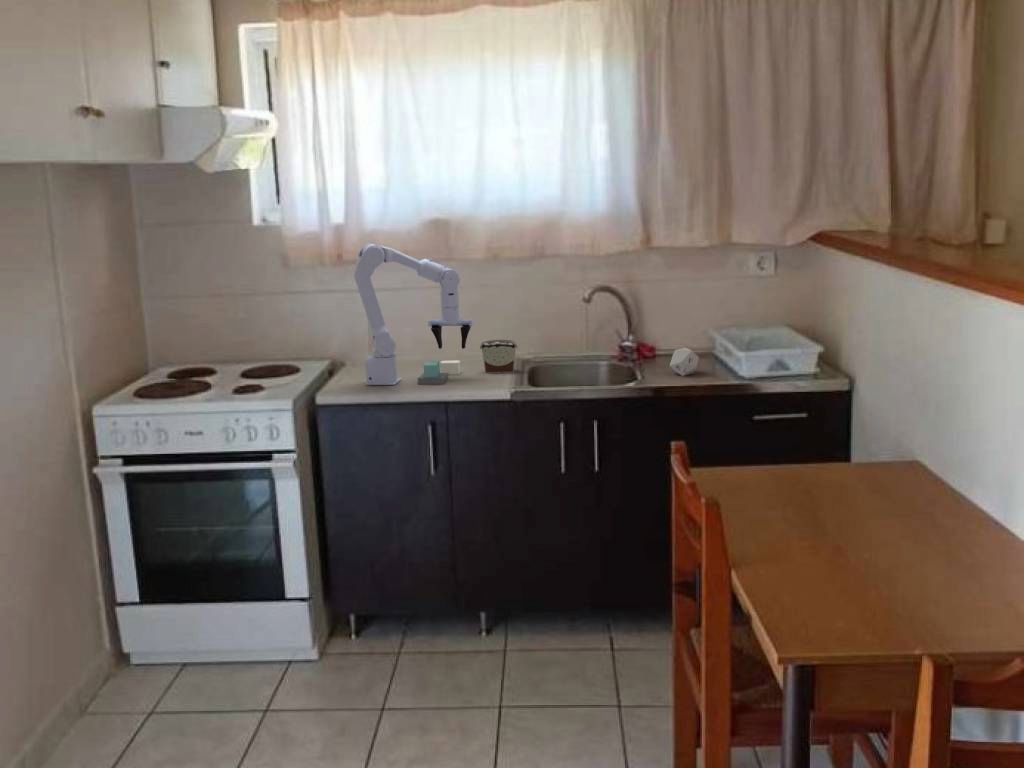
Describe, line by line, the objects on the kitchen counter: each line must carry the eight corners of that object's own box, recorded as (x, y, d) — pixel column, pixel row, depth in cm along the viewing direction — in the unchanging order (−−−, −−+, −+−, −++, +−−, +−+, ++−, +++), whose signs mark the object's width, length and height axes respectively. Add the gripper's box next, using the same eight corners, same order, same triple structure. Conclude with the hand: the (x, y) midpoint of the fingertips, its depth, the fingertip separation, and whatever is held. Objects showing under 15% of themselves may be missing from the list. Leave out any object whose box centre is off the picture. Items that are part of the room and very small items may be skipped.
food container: (519, 368, 339) (518, 338, 337) (518, 372, 334) (517, 342, 331) (483, 368, 341) (482, 339, 338) (480, 372, 335) (479, 343, 332)
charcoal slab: (418, 385, 322) (417, 378, 321) (424, 380, 329) (423, 372, 329) (443, 386, 321) (442, 378, 320) (448, 380, 328) (447, 372, 328)
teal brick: (424, 377, 322) (423, 365, 321) (427, 373, 327) (426, 361, 326) (436, 377, 321) (436, 365, 320) (439, 373, 327) (439, 361, 326)
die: (666, 378, 321) (681, 356, 315) (663, 359, 328) (678, 337, 322) (690, 385, 324) (705, 363, 317) (687, 366, 330) (702, 345, 324)
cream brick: (440, 375, 334) (440, 363, 333) (442, 372, 338) (442, 360, 337) (458, 374, 334) (458, 362, 333) (460, 372, 337) (460, 360, 337)
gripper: (424, 308, 323) (427, 350, 326) (469, 308, 320) (471, 350, 324) (430, 305, 330) (432, 346, 333) (474, 304, 327) (475, 346, 330)
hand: (452, 348), depth 329 cm, fingers open, 7 cm apart
